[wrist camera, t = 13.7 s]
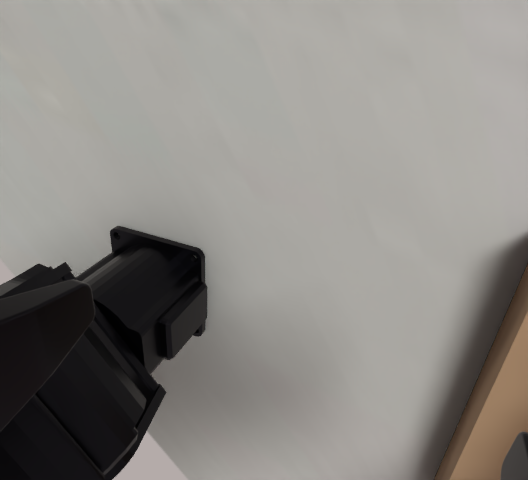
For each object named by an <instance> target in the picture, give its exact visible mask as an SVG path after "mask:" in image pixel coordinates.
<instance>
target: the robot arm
mask: <svg viewBox="0 0 528 480" xmlns="http://www.w3.org/2000/svg"><path fill="white" fill-rule="evenodd" d="M118 234H119V235H120V236H119V235H118ZM110 236H111V244H112V253H111V254H109V255H108V256H106V257H105V258H103V259H102V260H101V261H99V262H98V263H96V264H95V265H93V266H92V267H90V268H89V269H87V270H86V271H85V272H83V273H82V274H80V275H79V276H77V277H76V278H75V277H74V275H73V274H72V273H71V271H72V270H71V268H70V267H69V266H68V265H67V263H66V262H65V263H63V264H61V265H60V266H58V267H57V268H55V269H53V268H52V267H51V266H50V267H49V268H48V267H46V266H44V265H41V264H37V265H35V266H33V267H32V268H30V269H28V270H27V271H25V272H23V273H22V274H20V275H18V276H17V277H15V278H13V279H11V280H9V281H8V282H6V283H4V284H2V285H0V480H112V479H113V478H114V477H115V476H116V475H117V474H118V473H119V472H120V471H121V470H122V469H123V468H124V467H125V466H126V464H127V463H128V462H129V461H130V459H131V458H132V457H133V455H134V454H135V452H136V450H137V449H138V447H139V445H140V443H141V441H142V439H143V436H144V435H145V433H146V431H147V429H148V427H149V425H150V423H151V421H152V419H153V417H154V415H155V413H156V411H157V409H158V407H159V406H160V404H161V402H162V400H163V398H164V396H165V394H166V391H165V390H164V388H163V387H162V386H161V385H160V384H157V382H156V381H155V380H154V378H153V377H152V376H151V373H152V372H153V371H154V370H155V368H156V367H157V366H158V365H159V364H160V363H161V361H162V360H163V359H167V360H170V359H172V358H174V357H175V355H176V354H177V353H178V352H179V351H180V349H181V348H182V347H183V346H184V345H185V343H186V342H187V341H188V340H189V339H190V338H191V336H192V335H194V336H201V335H202V334H203V332H204V331H205V320H206V318H207V286H206V284H205V256H204V253H203V251H202V250H200V249H199V248H196V247H193V246H189V245H185V244H182V243H178V242H175V241H171V240H168V239H164V238H160V237H157V236H153V235H150V234H146V233H143V232H139V231H135V230H132V229H128V228H125V227H121V226H117V227H115V228H113V229H112V230H111V231H110ZM194 255H196V257H197V258H195V257H194ZM500 480H528V432H524V431H523V432H520V433H519V434H518V435H517V437H516V438H515V440H514V442H513V444H512V446H511V448H510V449H509V451H508V453H507V455H506V457H505V459H504V461H503V464H502V468H501V478H500Z"/></svg>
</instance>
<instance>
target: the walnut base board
mask: <svg viewBox="0 0 528 480" xmlns="http://www.w3.org/2000/svg"><path fill="white" fill-rule="evenodd" d="M523 431H524V432H528V264H527V267H526V269H525V271H524V273H523V276H522V278H521V280H520V283H519V285H518V287H517V290H516V292H515V294H514V296H513V299H512V301H511V303H510V306H509V308H508V310H507V313H506V315H505V317H504V319H503V322H502V324H501V326H500V329H499V331H498V333H497V336H496V338H495V340H494V343H493V345H492V347H491V349H490V352H489V354H488V356H487V359H486V361H485V363H484V366H483V368H482V370H481V372H480V375H479V377H478V379H477V382H476V384H475V386H474V389H473V391H472V393H471V395H470V398H469V400H468V402H467V405H466V407H465V409H464V412H463V414H462V416H461V418H460V421H459V423H458V425H457V428H456V430H455V432H454V435H453V437H452V439H451V442H450V444H449V446H448V448H447V451H446V453H445V455H444V458H443V460H442V462H441V465H440V467H439V469H438V471H437V474H436V476H435V478H434V480H500V478H501V468H502V464H503V461H504V459H505V457H506V455H507V453H508V451H509V449H510V448H511V446H512V444H513V442H514V440H515V438H516V437H517V435H518V434H519V433H520V432H523Z"/></svg>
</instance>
